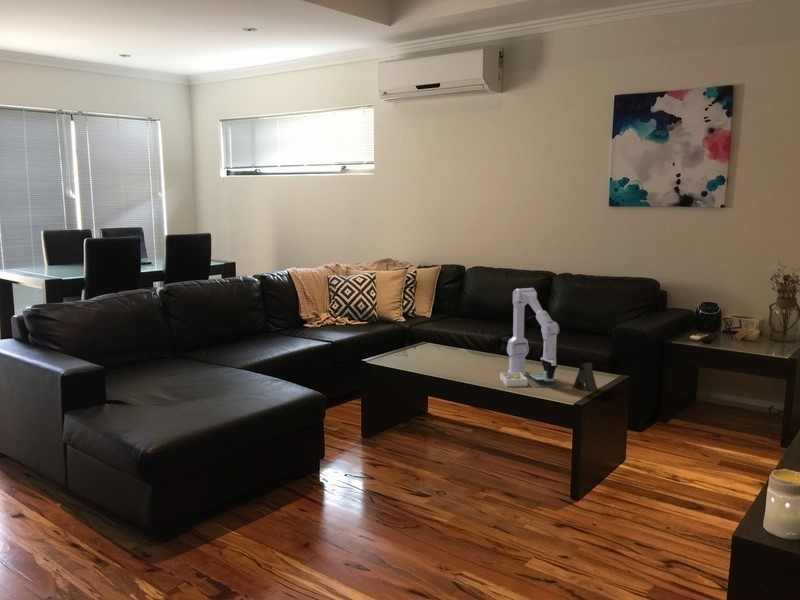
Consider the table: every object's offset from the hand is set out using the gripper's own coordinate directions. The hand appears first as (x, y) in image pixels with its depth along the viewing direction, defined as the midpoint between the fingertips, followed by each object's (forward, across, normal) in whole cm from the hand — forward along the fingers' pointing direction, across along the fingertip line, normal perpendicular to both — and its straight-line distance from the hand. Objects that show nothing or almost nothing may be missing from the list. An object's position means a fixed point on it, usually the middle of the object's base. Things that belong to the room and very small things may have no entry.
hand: (548, 377), depth 312 cm
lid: (+2, -7, 0) cm, 7 cm away
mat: (+4, -8, 0) cm, 9 cm away
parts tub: (+4, -8, -14) cm, 17 cm away
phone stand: (+5, +5, +16) cm, 17 cm away
